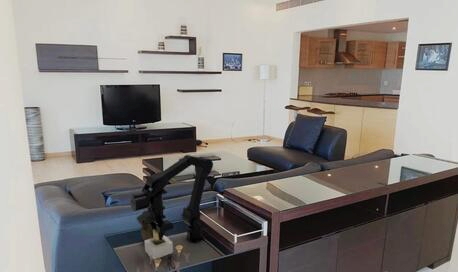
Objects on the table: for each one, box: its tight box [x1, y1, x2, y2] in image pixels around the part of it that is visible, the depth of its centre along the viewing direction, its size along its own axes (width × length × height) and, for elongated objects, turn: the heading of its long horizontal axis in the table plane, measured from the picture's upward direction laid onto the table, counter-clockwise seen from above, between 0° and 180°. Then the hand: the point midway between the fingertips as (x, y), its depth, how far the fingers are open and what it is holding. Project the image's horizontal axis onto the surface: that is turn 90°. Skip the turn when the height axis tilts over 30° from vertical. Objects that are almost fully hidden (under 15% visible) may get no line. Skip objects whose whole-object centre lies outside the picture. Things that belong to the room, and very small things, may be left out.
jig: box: [143, 235, 174, 260], centre depth 147 cm, size 9×9×5 cm
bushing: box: [153, 229, 163, 245], centre depth 146 cm, size 4×4×6 cm
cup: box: [139, 224, 153, 241], centre depth 155 cm, size 8×7×8 cm
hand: (158, 238), depth 146 cm, fingers closed on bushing, 4 cm apart
